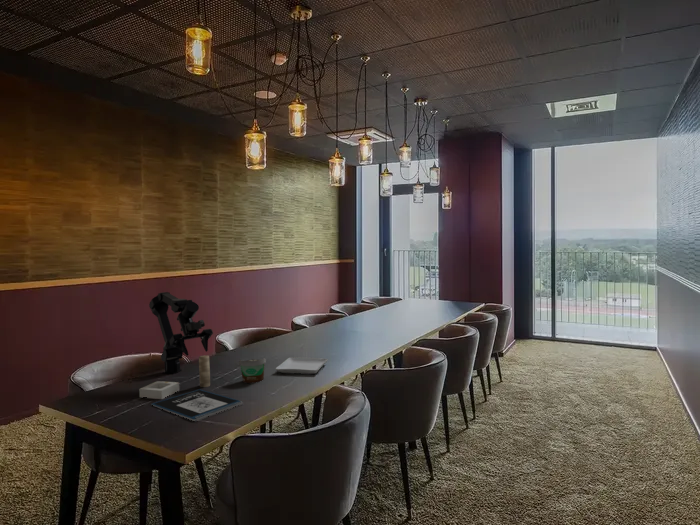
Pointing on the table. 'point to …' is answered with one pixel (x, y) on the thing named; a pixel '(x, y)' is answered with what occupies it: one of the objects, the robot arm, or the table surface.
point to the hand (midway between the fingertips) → (197, 353)
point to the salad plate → (301, 365)
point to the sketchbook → (197, 404)
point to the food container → (252, 370)
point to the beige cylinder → (204, 371)
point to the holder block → (159, 389)
